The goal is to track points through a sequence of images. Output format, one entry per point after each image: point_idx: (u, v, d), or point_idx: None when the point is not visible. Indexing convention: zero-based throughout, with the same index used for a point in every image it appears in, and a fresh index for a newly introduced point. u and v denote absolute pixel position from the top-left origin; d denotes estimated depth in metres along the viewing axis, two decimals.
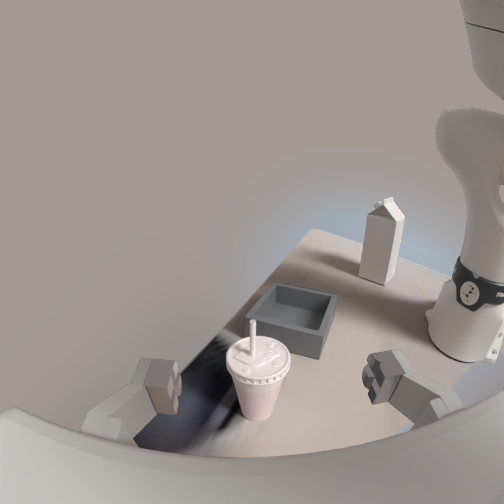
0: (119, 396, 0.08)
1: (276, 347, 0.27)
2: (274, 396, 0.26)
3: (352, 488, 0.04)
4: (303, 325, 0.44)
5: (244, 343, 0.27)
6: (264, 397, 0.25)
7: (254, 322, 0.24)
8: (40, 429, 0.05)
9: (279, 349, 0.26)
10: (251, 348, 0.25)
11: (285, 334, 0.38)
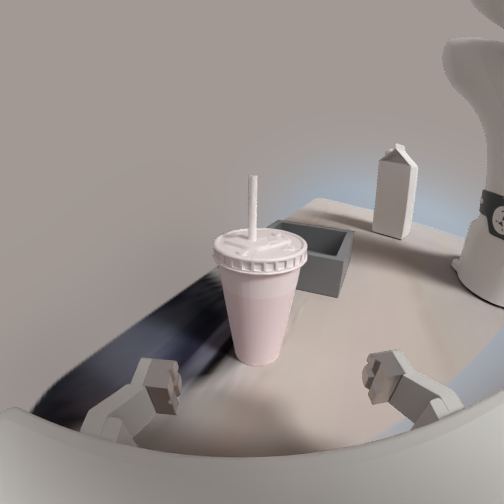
0: (119, 396, 0.08)
1: None
2: (283, 312, 0.18)
3: (352, 488, 0.04)
4: None
5: (240, 233, 0.20)
6: (269, 310, 0.18)
7: (255, 176, 0.17)
8: (40, 429, 0.05)
9: (290, 238, 0.19)
10: (250, 224, 0.18)
11: None
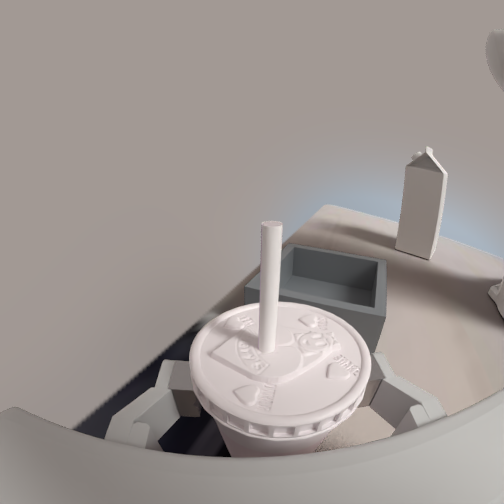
0: (144, 400, 0.08)
1: (326, 327, 0.10)
2: (316, 448, 0.09)
3: (352, 488, 0.04)
4: None
5: (243, 318, 0.11)
6: None
7: (277, 226, 0.07)
8: (40, 429, 0.05)
9: (336, 331, 0.10)
10: (264, 325, 0.08)
11: None
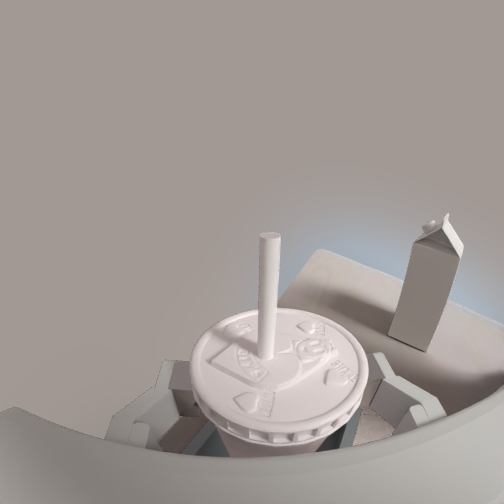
0: (144, 400, 0.08)
1: (324, 333, 0.10)
2: None
3: (352, 488, 0.04)
4: None
5: (241, 325, 0.11)
6: None
7: (275, 238, 0.07)
8: (40, 429, 0.05)
9: (333, 338, 0.10)
10: (262, 334, 0.08)
11: None
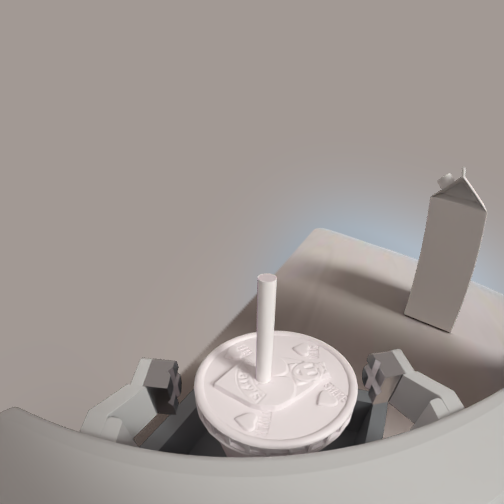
0: (119, 396, 0.08)
1: (318, 356, 0.11)
2: None
3: (352, 488, 0.04)
4: None
5: (241, 348, 0.11)
6: None
7: (272, 280, 0.08)
8: (40, 429, 0.05)
9: (326, 360, 0.10)
10: (260, 361, 0.09)
11: None
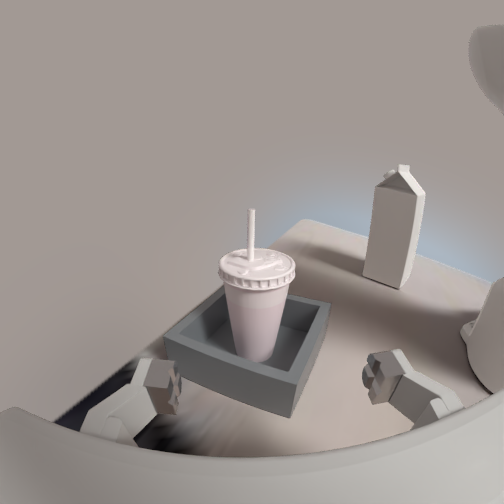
0: (119, 396, 0.08)
1: (277, 256, 0.24)
2: (276, 318, 0.23)
3: (352, 488, 0.04)
4: None
5: (240, 253, 0.24)
6: (265, 317, 0.22)
7: (253, 210, 0.21)
8: (40, 429, 0.05)
9: (281, 257, 0.24)
10: (249, 248, 0.22)
11: (228, 373, 0.20)
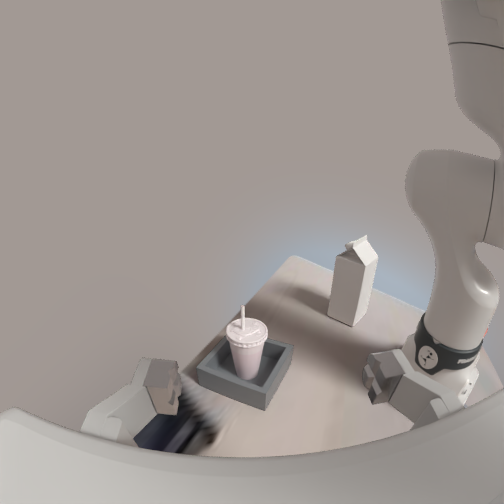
0: (119, 396, 0.08)
1: (258, 325, 0.42)
2: (257, 358, 0.41)
3: (352, 488, 0.04)
4: None
5: (238, 322, 0.42)
6: (251, 358, 0.40)
7: (243, 306, 0.39)
8: (40, 429, 0.05)
9: (260, 326, 0.41)
10: (242, 324, 0.40)
11: (232, 387, 0.38)
